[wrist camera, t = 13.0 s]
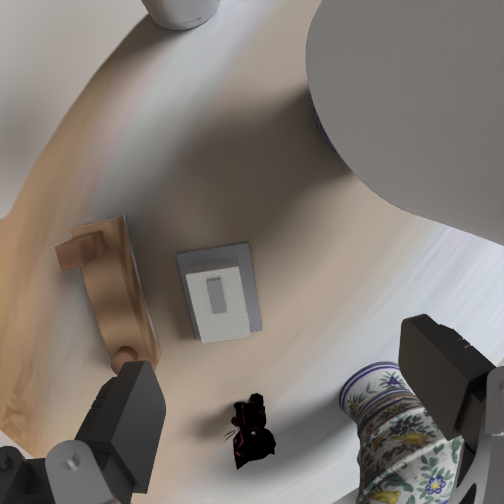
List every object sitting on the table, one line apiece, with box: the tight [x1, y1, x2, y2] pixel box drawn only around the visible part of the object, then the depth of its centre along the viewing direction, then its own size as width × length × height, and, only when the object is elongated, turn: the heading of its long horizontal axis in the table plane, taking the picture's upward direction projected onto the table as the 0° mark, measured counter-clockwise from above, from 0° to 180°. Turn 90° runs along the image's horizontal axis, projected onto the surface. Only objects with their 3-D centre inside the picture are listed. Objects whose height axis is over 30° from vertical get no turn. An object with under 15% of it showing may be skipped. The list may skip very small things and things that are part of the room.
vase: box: [339, 362, 464, 504], centre depth 32 cm, size 17×17×30 cm
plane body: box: [55, 215, 161, 375], centre depth 35 cm, size 20×6×11 cm, turn 8°
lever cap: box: [186, 257, 251, 343], centre depth 38 cm, size 9×6×5 cm, turn 9°
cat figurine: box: [224, 393, 276, 470], centre depth 40 cm, size 7×7×12 cm
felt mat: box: [176, 242, 262, 339], centre depth 40 cm, size 12×9×1 cm
